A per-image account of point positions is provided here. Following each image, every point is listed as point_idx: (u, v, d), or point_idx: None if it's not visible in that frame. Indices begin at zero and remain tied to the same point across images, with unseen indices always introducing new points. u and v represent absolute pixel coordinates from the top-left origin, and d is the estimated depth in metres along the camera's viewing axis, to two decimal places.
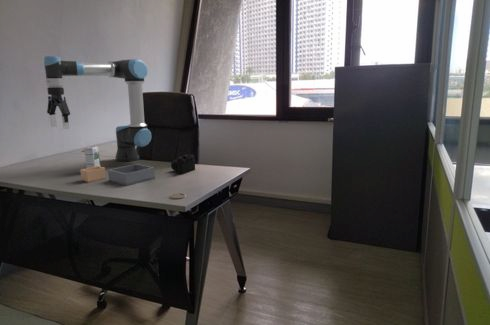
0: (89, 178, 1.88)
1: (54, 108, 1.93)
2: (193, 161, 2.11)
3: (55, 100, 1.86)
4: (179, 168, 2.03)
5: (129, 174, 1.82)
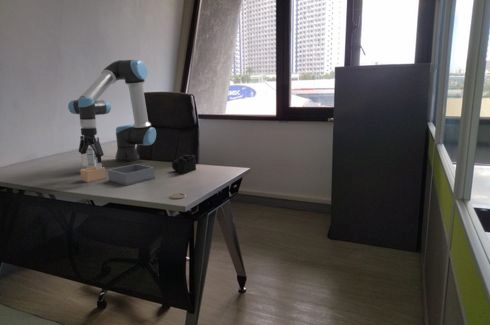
0: (89, 178, 1.88)
1: (86, 147, 1.93)
2: (194, 161, 2.11)
3: (88, 141, 1.86)
4: (180, 168, 2.03)
5: (129, 174, 1.82)
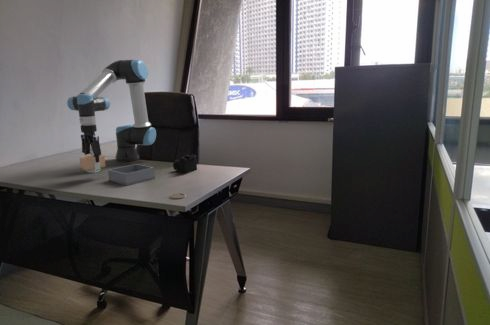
0: (88, 166, 1.87)
1: (88, 145, 1.92)
2: (195, 161, 2.11)
3: (88, 138, 1.86)
4: (181, 168, 2.03)
5: (129, 174, 1.82)
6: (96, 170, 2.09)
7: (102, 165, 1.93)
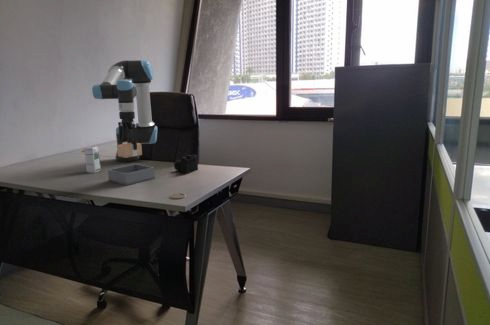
0: (126, 153, 1.84)
1: (125, 133, 1.89)
2: (196, 161, 2.12)
3: (127, 125, 1.84)
4: (183, 168, 2.03)
5: (129, 174, 1.82)
6: (96, 170, 2.09)
7: (139, 153, 1.90)
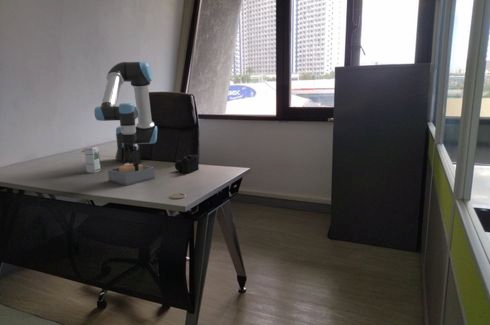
0: None
1: (127, 154, 1.92)
2: (197, 161, 2.12)
3: (129, 147, 1.86)
4: (184, 168, 2.03)
5: (129, 174, 1.82)
6: (96, 170, 2.09)
7: None
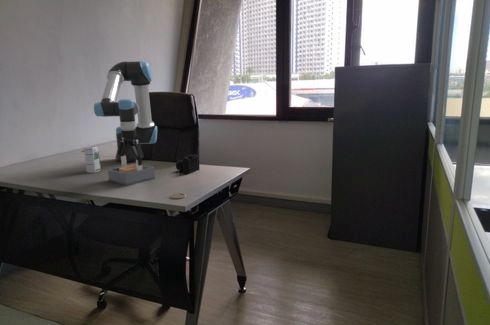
0: None
1: (125, 149, 1.92)
2: (198, 161, 2.12)
3: (129, 143, 1.86)
4: (185, 168, 2.03)
5: (129, 174, 1.82)
6: (96, 170, 2.09)
7: None
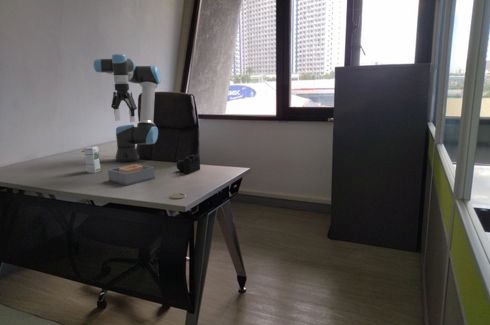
0: None
1: (119, 102, 2.06)
2: (198, 161, 2.12)
3: (122, 95, 1.99)
4: (186, 168, 2.03)
5: (129, 174, 1.82)
6: (96, 170, 2.09)
7: None
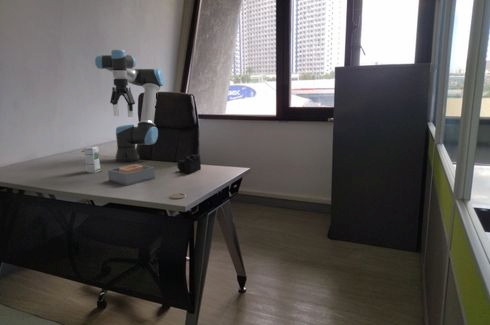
0: None
1: (117, 98, 2.09)
2: (199, 161, 2.12)
3: (121, 90, 2.02)
4: (187, 168, 2.03)
5: (129, 174, 1.82)
6: (96, 170, 2.09)
7: None
